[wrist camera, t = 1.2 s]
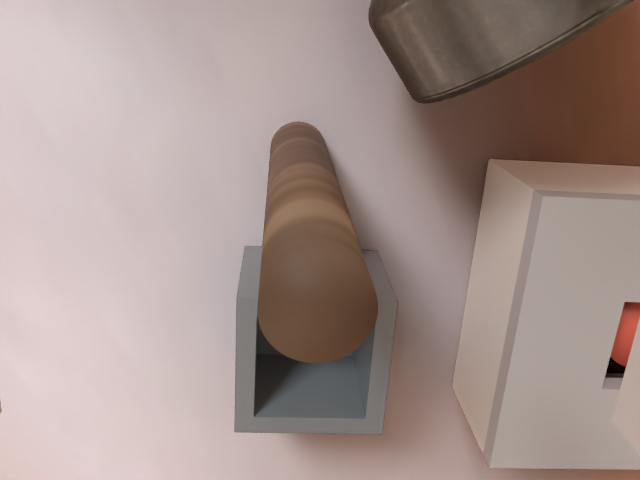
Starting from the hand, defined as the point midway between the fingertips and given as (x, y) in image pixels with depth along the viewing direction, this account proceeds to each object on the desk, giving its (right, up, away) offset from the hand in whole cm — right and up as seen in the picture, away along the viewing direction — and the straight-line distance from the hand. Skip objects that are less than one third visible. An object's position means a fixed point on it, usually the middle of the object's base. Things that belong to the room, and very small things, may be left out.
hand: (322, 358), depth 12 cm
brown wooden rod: (-1, +7, +19) cm, 20 cm away
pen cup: (-1, -1, +22) cm, 22 cm away
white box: (+15, 0, +22) cm, 27 cm away
